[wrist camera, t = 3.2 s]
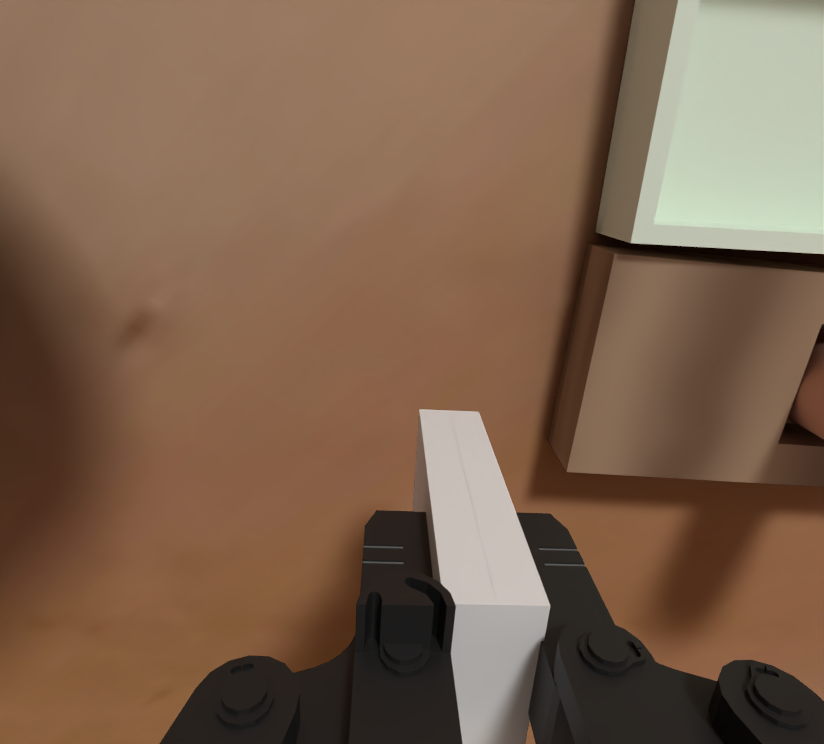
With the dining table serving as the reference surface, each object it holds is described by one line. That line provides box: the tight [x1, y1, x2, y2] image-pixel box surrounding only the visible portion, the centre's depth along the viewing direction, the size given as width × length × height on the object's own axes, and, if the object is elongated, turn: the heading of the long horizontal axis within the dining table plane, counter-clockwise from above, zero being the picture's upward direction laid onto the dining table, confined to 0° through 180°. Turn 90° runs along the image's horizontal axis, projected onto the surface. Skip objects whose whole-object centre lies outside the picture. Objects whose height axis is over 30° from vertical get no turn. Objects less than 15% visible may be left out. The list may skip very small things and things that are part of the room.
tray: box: [595, 0, 824, 254], centre depth 17 cm, size 10×10×3 cm
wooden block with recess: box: [548, 243, 824, 487], centre depth 21 cm, size 14×8×3 cm, turn 85°
